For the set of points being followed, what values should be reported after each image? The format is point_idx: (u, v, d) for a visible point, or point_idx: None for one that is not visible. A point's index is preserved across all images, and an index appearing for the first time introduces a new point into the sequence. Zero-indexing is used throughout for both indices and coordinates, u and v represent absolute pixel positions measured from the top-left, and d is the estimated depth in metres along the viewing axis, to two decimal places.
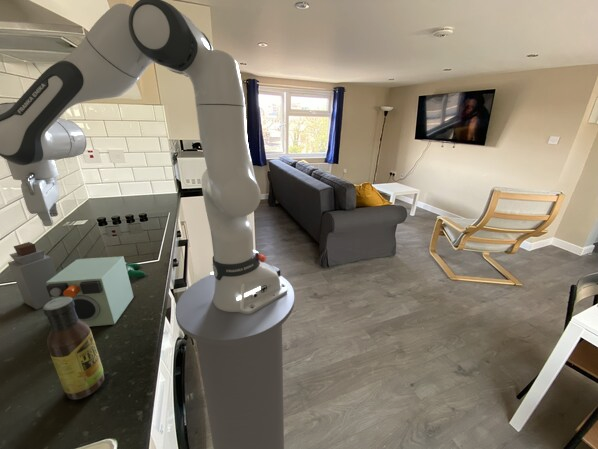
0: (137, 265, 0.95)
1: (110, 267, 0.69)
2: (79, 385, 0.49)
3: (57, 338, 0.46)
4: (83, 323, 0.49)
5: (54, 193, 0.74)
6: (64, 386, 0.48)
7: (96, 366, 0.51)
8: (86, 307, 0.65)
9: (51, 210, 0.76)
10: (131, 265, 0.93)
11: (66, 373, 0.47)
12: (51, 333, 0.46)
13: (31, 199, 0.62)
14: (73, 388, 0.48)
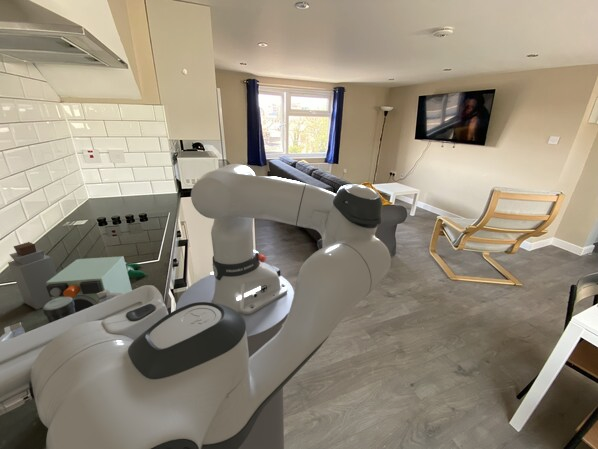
0: (137, 265, 0.95)
1: (110, 267, 0.69)
2: None
3: None
4: None
5: None
6: None
7: None
8: (86, 307, 0.65)
9: (104, 299, 0.39)
10: (131, 265, 0.93)
11: None
12: None
13: None
14: None
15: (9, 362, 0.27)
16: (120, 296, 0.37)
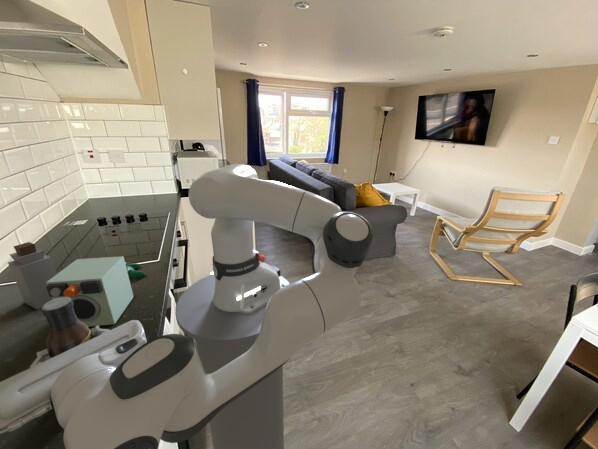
0: (137, 265, 0.95)
1: (110, 267, 0.69)
2: None
3: (56, 339, 0.45)
4: (82, 323, 0.49)
5: None
6: None
7: None
8: (86, 307, 0.65)
9: (95, 334, 0.51)
10: (131, 265, 0.93)
11: None
12: (50, 333, 0.46)
13: None
14: None
15: (36, 383, 0.39)
16: (113, 330, 0.49)
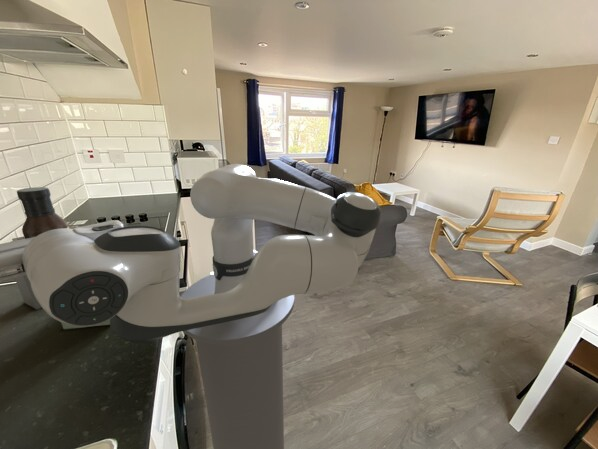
0: None
1: None
2: None
3: (32, 224, 0.45)
4: (60, 217, 0.48)
5: None
6: None
7: None
8: None
9: None
10: None
11: None
12: (26, 220, 0.45)
13: None
14: None
15: (7, 251, 0.39)
16: (91, 225, 0.49)
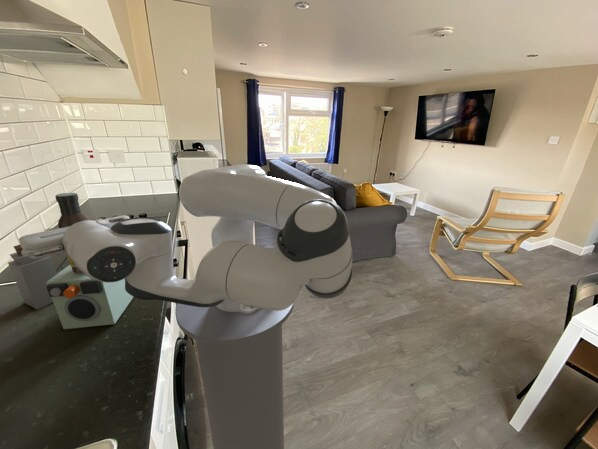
0: None
1: None
2: None
3: (65, 220, 0.62)
4: (85, 215, 0.65)
5: None
6: (70, 260, 0.64)
7: None
8: (86, 307, 0.65)
9: None
10: None
11: None
12: (61, 216, 0.62)
13: (22, 246, 0.53)
14: None
15: (51, 236, 0.55)
16: None
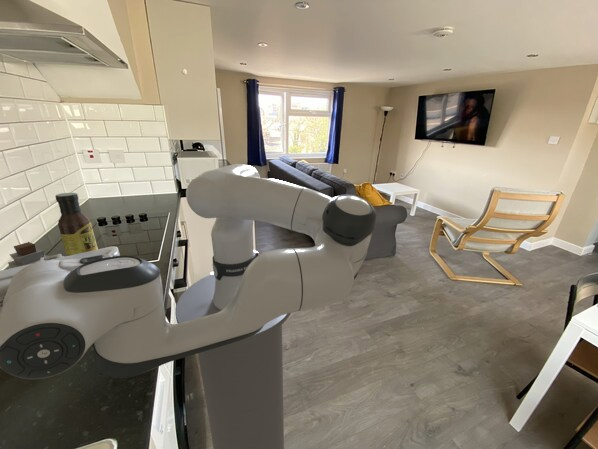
0: None
1: None
2: None
3: (65, 220, 0.62)
4: (85, 215, 0.65)
5: None
6: None
7: None
8: None
9: None
10: None
11: (72, 249, 0.63)
12: (61, 216, 0.62)
13: None
14: None
15: None
16: (90, 251, 0.49)
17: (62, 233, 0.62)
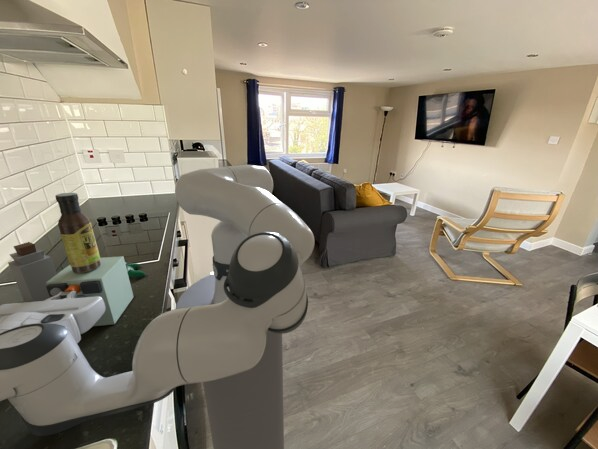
0: (137, 265, 0.95)
1: (110, 267, 0.69)
2: (82, 260, 0.65)
3: (65, 220, 0.62)
4: (85, 215, 0.65)
5: None
6: (70, 260, 0.64)
7: (94, 250, 0.67)
8: None
9: (66, 297, 0.60)
10: (131, 265, 0.93)
11: (72, 249, 0.63)
12: (61, 216, 0.62)
13: None
14: (77, 262, 0.65)
15: (7, 316, 0.52)
16: (80, 298, 0.57)
17: (62, 233, 0.62)
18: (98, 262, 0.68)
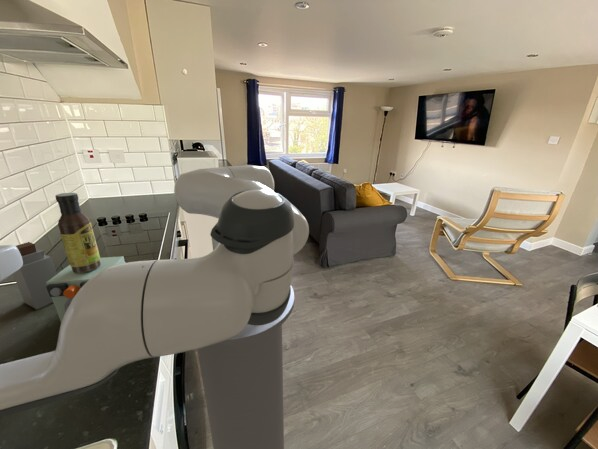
0: None
1: None
2: (82, 260, 0.65)
3: (65, 220, 0.62)
4: (85, 215, 0.65)
5: None
6: (70, 260, 0.64)
7: (94, 250, 0.67)
8: None
9: None
10: None
11: (72, 249, 0.63)
12: (61, 216, 0.62)
13: None
14: (77, 262, 0.65)
15: None
16: None
17: (62, 233, 0.62)
18: (98, 262, 0.68)
